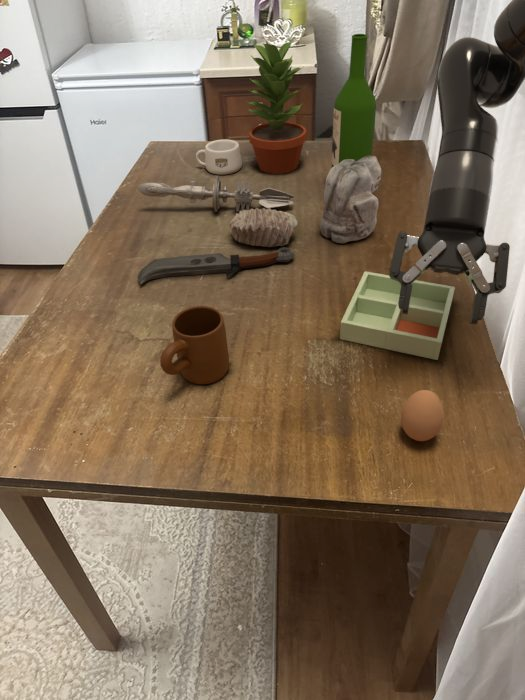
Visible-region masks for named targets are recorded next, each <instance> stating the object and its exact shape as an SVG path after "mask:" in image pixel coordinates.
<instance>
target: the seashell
mask: <svg viewBox="0 0 525 700" xmlns="http://www.w3.org/2000/svg"><path fill="white" fill-rule="evenodd" d="M298 224H299V221H298V219H297V218H296V216H295V215H294V214H292V213H289V212H285V211H282V210H277V209H272V208H266V207H262V208H258V207H256V208H255V209H254V208H249V210H246V209H244V210H243V211H241V210H239V211H238V212H235V215H234V216H233V218H232V219H231V221H230V222H229V228H230V233H231V236H232V238H233V239H234V240H235V242H238V243H240V244H244V245H250V246H255V247H263V248H265V247H267V248H275V247H285V246H286V245H288V244H289V242H290V240H291V236H292V234H293V231H294V229H295V228H296V227H297V225H298Z"/></svg>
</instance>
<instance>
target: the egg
mask: <svg viewBox="0 0 525 700" xmlns="http://www.w3.org/2000/svg"><path fill="white" fill-rule="evenodd" d="M444 418H445V410H444V407H443V403H442V401H441V399H440V398H439V395H437V394H436V393H435V392H434V391H431V390H429V389H421V390H417V391H415V392H414V393H412V394H411V395H410V396H409V397H408V398H407V400H406V401H405V402H404V404H403V407H402V410H401V414H400V422H401V427H402V429H403V431H404V432H405V434H406V435H407V436H408V437H409V438H410V439H412V440H414V441H418V442H425V441H429V440H431V439H433V438H434V437H436V436H437V435H438V434H439V432H440V431H441V430H442V427H443V423H444Z"/></svg>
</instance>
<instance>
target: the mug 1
mask: <svg viewBox="0 0 525 700" xmlns="http://www.w3.org/2000/svg"><path fill="white" fill-rule="evenodd" d="M171 328H172V338H173V342H170V343H169V344H168V345H167V346H165V348H163V351H162V352H161V355H160V359H159V360H160V361H159V363H160V367H161V369H162V371H163V372H164V373H165V374H167V375H169V376H170V375H171V376H174V375H178V374H180V373H181V375H182V377H183V378H184V379H185V380H187V382H190V383H192V384H196V385H209V384H212V383H215V382H218V381H219V380H221V379H222V378H224V377H225V376H226V374H227V372H228V370H229V369H230V368H229V367H230V358H229V357H230V356H229V348H228V339H227V330H226V324H225V320H224V317H223V314H222V313H221V311H219V310H217V309H216V308H214V307H211V306H206V305H196V306H195V305H194V306H191V307H188V308H185V309H183V310H181V311H180V312H178V313H177V314H176V315H174V317H173V319H172V323H171ZM175 355H176V357H177V359H175V360H174V361H173V358H174V357H175Z"/></svg>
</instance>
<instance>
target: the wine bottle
mask: <svg viewBox="0 0 525 700" xmlns="http://www.w3.org/2000/svg"><path fill="white" fill-rule="evenodd" d="M367 39H368V35H367V34H365V33H355V34H352V35H351V44H350V45H351V46H350V59H349V60H350V61H349V72H348V73H349V75H348V78H347V80H346V81H345V83H344V84H343V86H342V88H341V90H340V91H339V93H338V94H337V96H336V97H335V101H334V105H333V117H332V118H333V119H332V122H333V123H332V141H331V144H332V145H331V168H332V167H334V166H336V165H338V164H339V163H340V162H342V161H343V160H346V159H353V160H355V161H356V162H357V161H358V160H360V159H361V158H363V157H365V156H368V155H373V147H374V138H375V137H374V135H375V126H376V125H375V123H376V114H377V113H376V112H377V101H376V97H375V94H374V93H373V91H372V88H371V87H370V85H369V83H368V81H367V79H366V59H367Z"/></svg>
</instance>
